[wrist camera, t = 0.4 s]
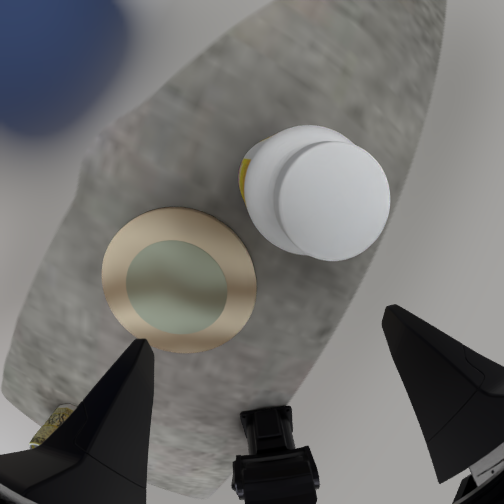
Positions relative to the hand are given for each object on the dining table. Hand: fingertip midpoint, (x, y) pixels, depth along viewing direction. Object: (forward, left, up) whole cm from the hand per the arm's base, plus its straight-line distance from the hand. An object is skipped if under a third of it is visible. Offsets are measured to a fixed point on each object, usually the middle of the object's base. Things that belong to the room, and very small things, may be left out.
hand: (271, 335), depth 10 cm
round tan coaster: (-4, +7, -15) cm, 17 cm away
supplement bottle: (+4, -3, -15) cm, 16 cm away
